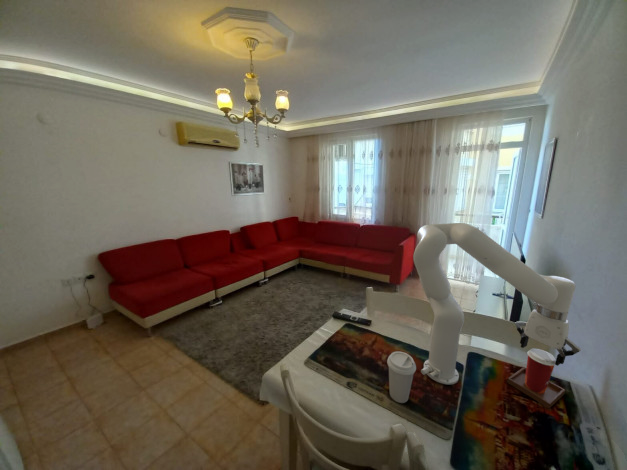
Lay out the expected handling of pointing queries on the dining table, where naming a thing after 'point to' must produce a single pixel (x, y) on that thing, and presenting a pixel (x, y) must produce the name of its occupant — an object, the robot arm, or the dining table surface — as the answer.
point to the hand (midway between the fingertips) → (539, 354)
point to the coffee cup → (400, 375)
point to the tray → (546, 399)
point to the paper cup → (539, 370)
